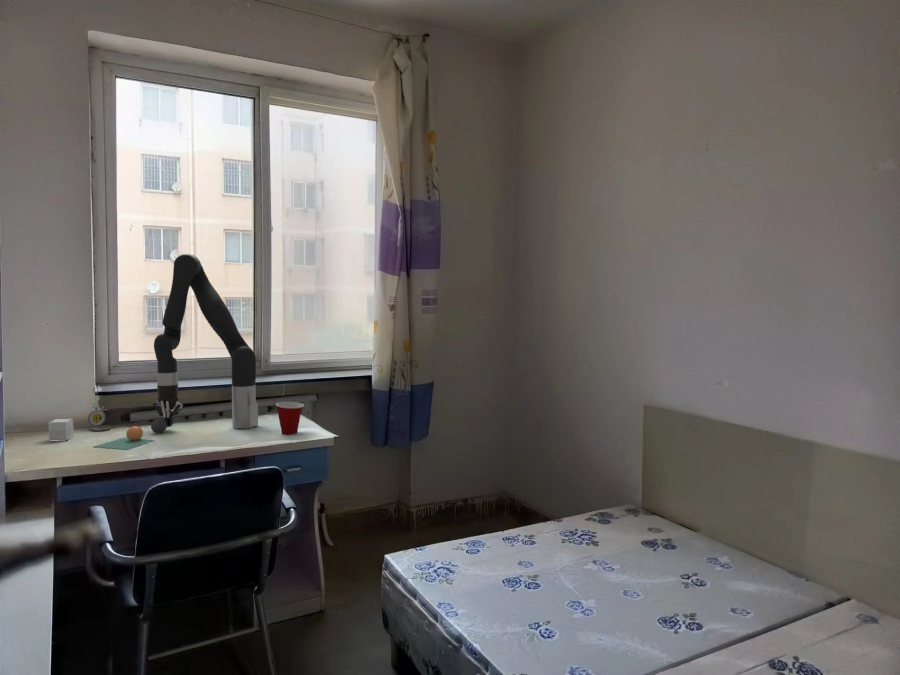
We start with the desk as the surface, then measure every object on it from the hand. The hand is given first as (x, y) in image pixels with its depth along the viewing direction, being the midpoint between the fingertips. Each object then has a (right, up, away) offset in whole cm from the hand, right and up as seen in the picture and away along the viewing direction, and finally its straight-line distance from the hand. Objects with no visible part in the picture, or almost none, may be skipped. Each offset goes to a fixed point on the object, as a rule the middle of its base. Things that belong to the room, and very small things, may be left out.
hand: (168, 426), depth 240 cm
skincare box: (-32, -3, -17) cm, 36 cm away
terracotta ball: (-4, 0, -18) cm, 18 cm away
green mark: (-5, -3, -22) cm, 23 cm away
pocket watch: (-28, -1, 0) cm, 28 cm away
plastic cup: (+50, -3, -3) cm, 50 cm away
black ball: (-1, +1, -6) cm, 6 cm away
